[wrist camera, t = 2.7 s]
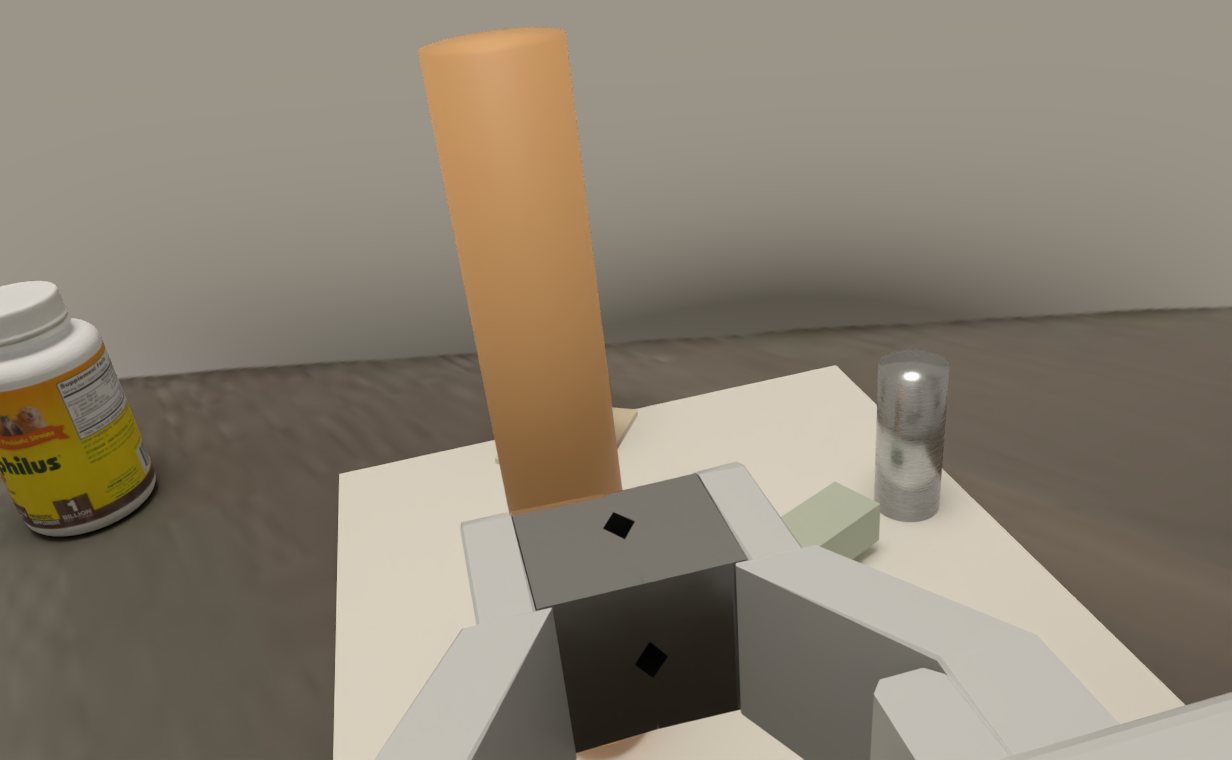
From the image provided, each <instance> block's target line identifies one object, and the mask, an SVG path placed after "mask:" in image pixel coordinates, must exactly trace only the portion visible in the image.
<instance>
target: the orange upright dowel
mask: <svg viewBox="0 0 1232 760" xmlns="http://www.w3.org/2000/svg"><path fill="white" fill-rule="evenodd" d="M418 54H419V59H420V64H421V69H422V74H423V79H424V84H425V89H426V94H427V99H428V105H429V110H430V115H431V120H432V125H433V130H434V135H435V140H436V145H437V150H438V155H439V161H440V165H441V171H442V175H443V180H444V186H445V190H446V196H447V201H448V206H449V211H450V216H451V221H452V226H453V232H454V236H455V241H456V247H457V252H458V256H459V262H460V267H461V272H462V277H463V282H464V287H465V292H466V297H467V302H468V307H469V313H470V318H471V322H472V328H473V333H474V338H475V343H476V348H477V353H478V358H479V363H480V368H481V373H482V379H483V384H484V389H485V394H486V399H487V404H488V409H489V414H490V419H491V424H492V429H493V434H494V439H495V444H496V449H497V455H498V460H499V465H500V470H501V475H502V480H503V485H504V490H505V495H506V500H507V505H508V510H509V515H510V516H511V513H510V512H511V511H516V510H521V509H527V508H532V507H537V506H542V505H547V504H552V503H557V502H562V501H567V500H572V499H577V498H583V497H588V496H593V495H598V494H603V493H604V494H608V493H612V492H617V491H621V490H622V482H621V474H620V466H619V458H618V450H617V442H616V434H615V426H614V418H613V410H612V402H611V394H610V386H609V378H608V370H607V362H606V353H605V345H604V337H603V329H602V321H601V314H600V305H599V297H598V290H597V281H596V273H595V265H594V258H593V249H592V242H591V233H590V225H589V217H588V209H587V202H586V193H585V185H584V176H583V169H582V160H581V153H580V145H579V136H578V128H577V120H576V112H575V104H574V96H573V88H572V81H571V73H570V64H569V56H568V48H567V40H566V32H565V31H564V30H562V29H558V28H548V27H529V28H513V29H503V30H494V31H486V32H479V33H473V34H468V35H463V36H457V37H453V38H448V39H444V40H440V41H437V42H434V43H431V44H428V45H426V46H424V47H422V48H420V49H419V51H418ZM781 518H782V520H783V521H784V522H785V524H786V525H787V527H788V528H789V529H790V531H791V532H792V534H793V535H794V537H795V538H796V539H797V541H798V542H799V544H800V545H801V546H802V548H804V547H808V546H813V545H817V546H820V547H822V548H825V549H827V550H829V551H832V552H834V553H837V554H839V555H842V556H844V557H847V558H849V559H854V558H855V557H857V556H858V555H859V554H861V553H862V552H863V551H865V550H866V549H868V548H869V547H870V546H872V545H873V544H874V543H876V542H877V541H878V540H879V526H880V503H878V502H876V501H874V500H872V499H870V498H868V497H866V496H863V495H861V494H859V493H857V492H855V491H853V490H851V489H849V488H847V487H845V486H843V485H841V484H839V483H837V482H833V483H832V484H830V485H829V486H827V487H826V488H824V489H823V490H821V491H820V492H818V493H817V494H815V495H813V496H812V497H810V498H809V499H807V500H806V501H804V502H803V503H801V504H800V505H798V506H797V507H795V508H794V509H792V510H791V511H789V512H788V513H786V514H785V515H783V516H781ZM619 741H621V740H619ZM619 741H616V742H619ZM616 742H612V743H609V744H606V745H610V744H614V743H616ZM606 745H602V746H606ZM599 747H600V746H599Z"/></svg>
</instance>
